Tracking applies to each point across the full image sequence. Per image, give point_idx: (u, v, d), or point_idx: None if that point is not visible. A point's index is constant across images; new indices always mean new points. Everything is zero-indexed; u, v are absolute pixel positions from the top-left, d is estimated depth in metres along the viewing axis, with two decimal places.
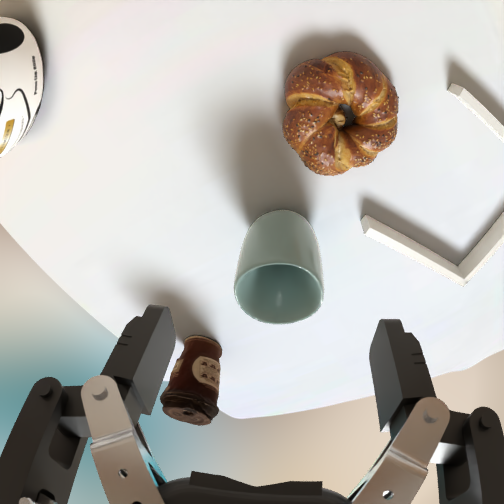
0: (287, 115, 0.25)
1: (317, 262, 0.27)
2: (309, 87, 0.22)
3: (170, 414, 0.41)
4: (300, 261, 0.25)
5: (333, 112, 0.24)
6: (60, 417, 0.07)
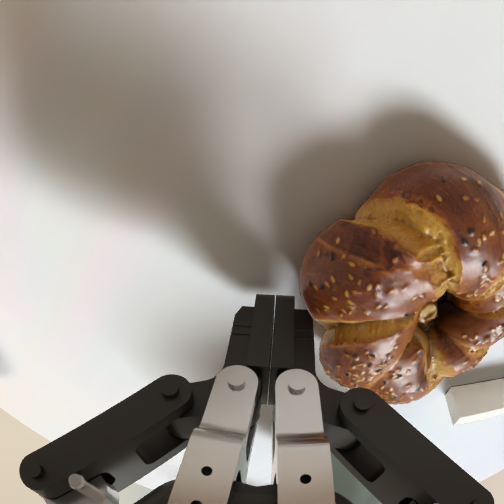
0: (323, 352, 0.12)
1: None
2: (356, 310, 0.10)
3: None
4: None
5: (416, 324, 0.11)
6: (171, 422, 0.08)
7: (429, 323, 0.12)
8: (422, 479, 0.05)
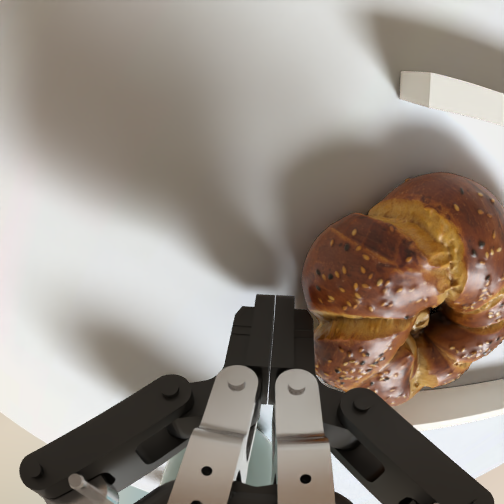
0: (315, 345, 0.12)
1: None
2: (361, 305, 0.10)
3: None
4: None
5: (411, 328, 0.11)
6: (171, 422, 0.08)
7: (419, 331, 0.13)
8: (422, 479, 0.05)
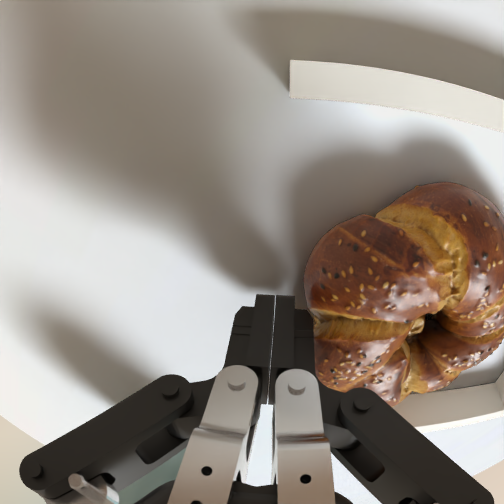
0: None
1: None
2: (364, 306, 0.10)
3: None
4: None
5: (408, 333, 0.11)
6: (171, 422, 0.08)
7: (413, 336, 0.13)
8: (422, 479, 0.05)
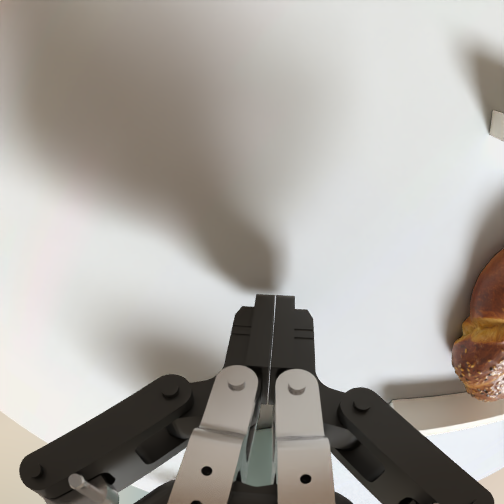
0: (476, 348, 0.11)
1: None
2: None
3: None
4: None
5: None
6: (171, 422, 0.08)
7: None
8: (422, 479, 0.05)
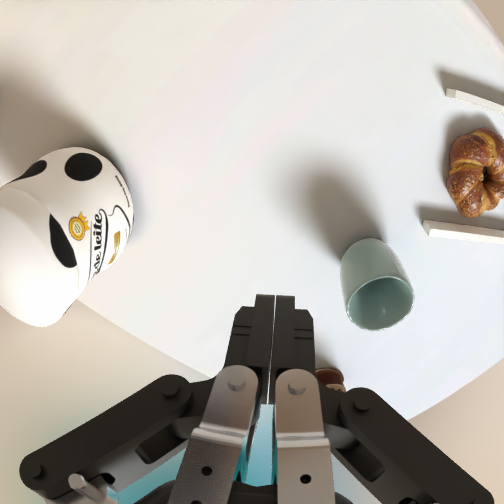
0: (455, 174, 0.31)
1: (401, 269, 0.31)
2: (472, 155, 0.28)
3: None
4: (389, 272, 0.30)
5: (481, 172, 0.30)
6: (171, 422, 0.08)
7: None
8: (422, 479, 0.05)
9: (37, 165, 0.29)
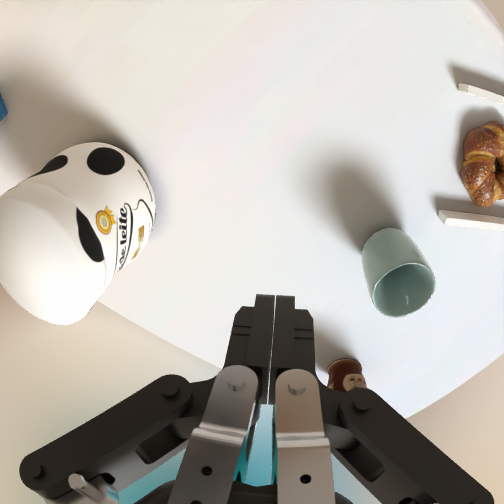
0: (469, 165, 0.31)
1: (422, 256, 0.32)
2: (485, 147, 0.28)
3: None
4: (412, 259, 0.30)
5: (493, 163, 0.30)
6: (171, 422, 0.08)
7: None
8: (422, 479, 0.05)
9: (57, 160, 0.30)
